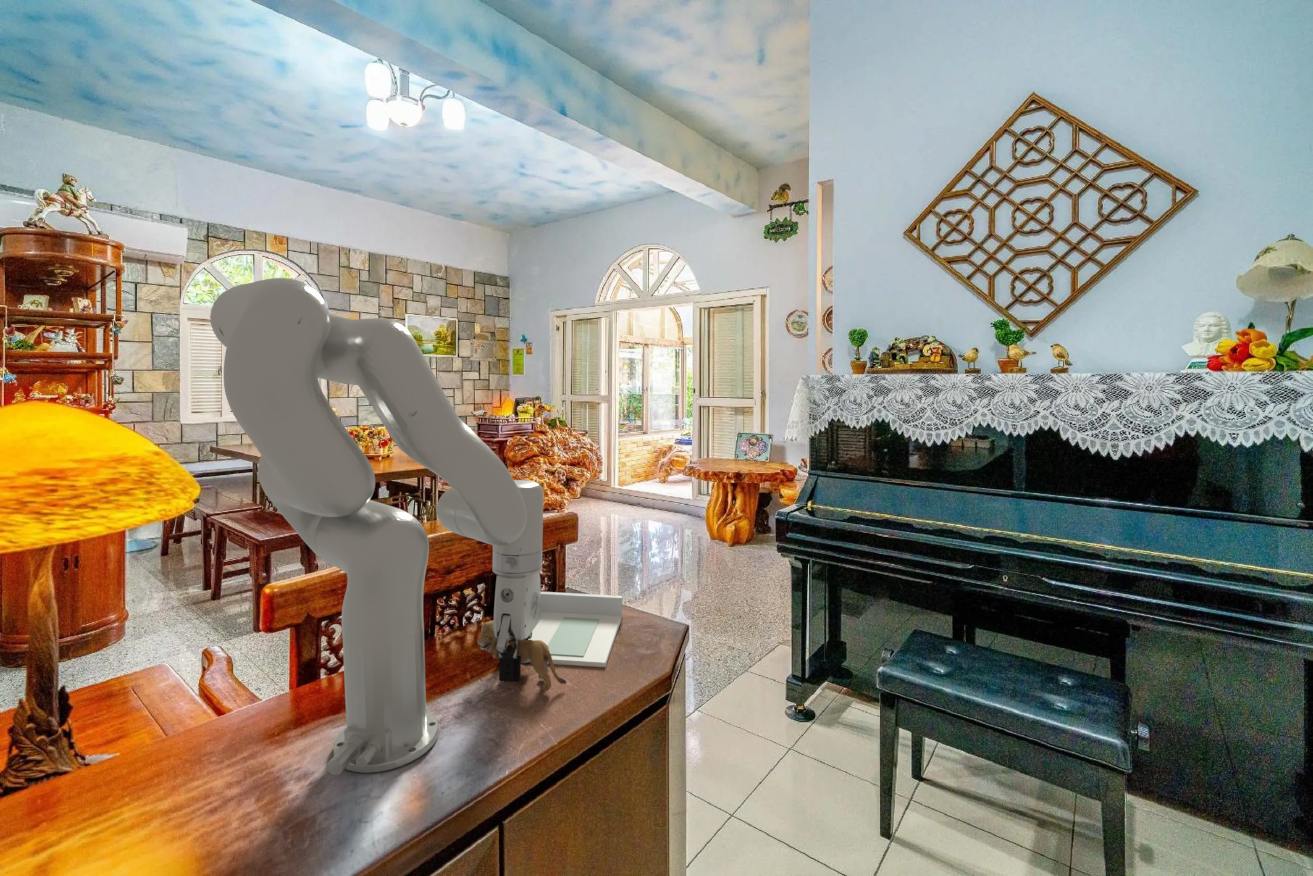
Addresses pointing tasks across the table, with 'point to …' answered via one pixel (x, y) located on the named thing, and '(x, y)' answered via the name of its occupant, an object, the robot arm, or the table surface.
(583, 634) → the tray
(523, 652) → the lion figurine
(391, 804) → the table surface
